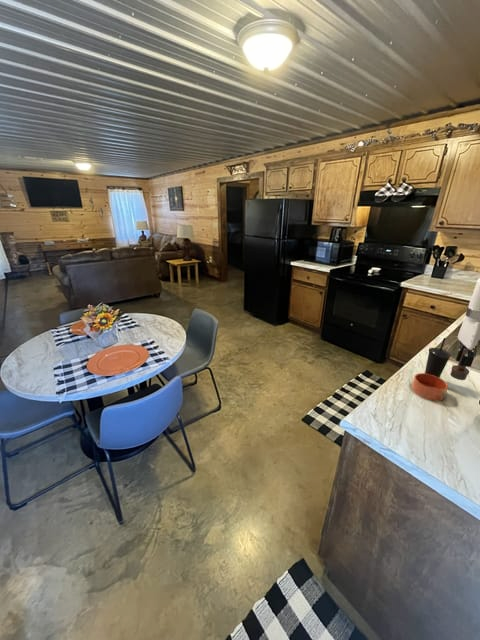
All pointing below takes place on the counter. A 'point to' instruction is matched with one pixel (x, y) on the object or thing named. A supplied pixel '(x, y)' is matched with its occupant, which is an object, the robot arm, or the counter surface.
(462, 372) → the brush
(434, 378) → the bowl
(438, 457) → the counter surface
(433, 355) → the drinking cup
